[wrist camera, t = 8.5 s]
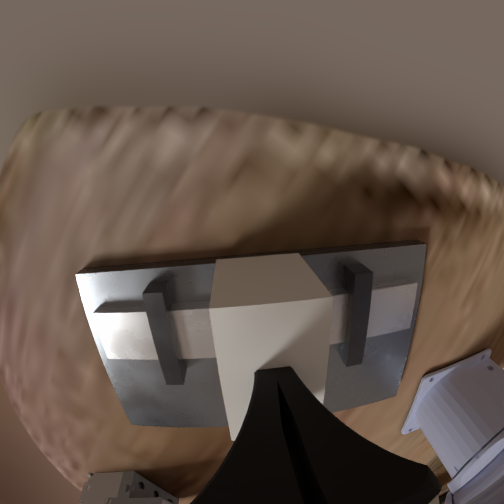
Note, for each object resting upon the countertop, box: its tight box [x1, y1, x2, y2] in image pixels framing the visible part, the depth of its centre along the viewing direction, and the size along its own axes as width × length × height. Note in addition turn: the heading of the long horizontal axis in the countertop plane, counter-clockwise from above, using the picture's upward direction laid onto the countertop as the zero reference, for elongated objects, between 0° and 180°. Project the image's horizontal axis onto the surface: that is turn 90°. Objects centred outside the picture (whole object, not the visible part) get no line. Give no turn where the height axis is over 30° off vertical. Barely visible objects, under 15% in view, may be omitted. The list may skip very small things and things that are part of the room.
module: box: [209, 253, 333, 441], centre depth 12 cm, size 4×7×5 cm, turn 3°
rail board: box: [75, 240, 426, 427], centre depth 15 cm, size 20×12×2 cm, turn 94°
